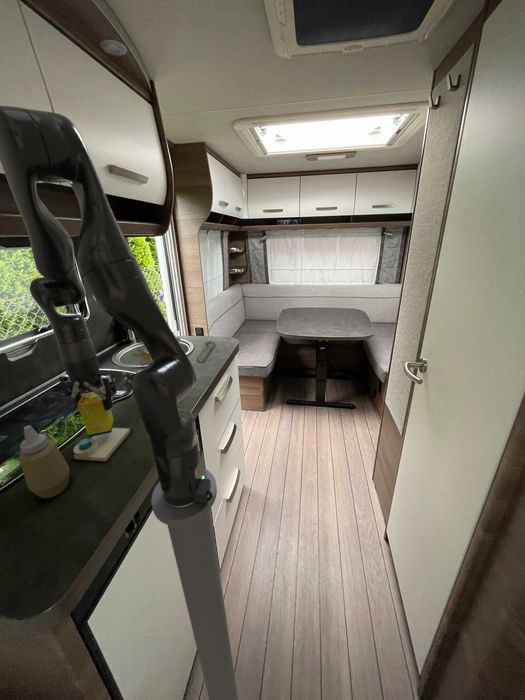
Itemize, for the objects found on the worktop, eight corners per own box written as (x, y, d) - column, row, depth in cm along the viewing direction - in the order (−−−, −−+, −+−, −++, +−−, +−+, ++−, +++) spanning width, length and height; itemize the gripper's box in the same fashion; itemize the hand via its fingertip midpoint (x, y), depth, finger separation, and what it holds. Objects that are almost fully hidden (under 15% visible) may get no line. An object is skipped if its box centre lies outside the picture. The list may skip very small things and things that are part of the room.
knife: (192, 361, 130) (203, 361, 129) (192, 361, 130) (203, 361, 129) (207, 342, 153) (216, 342, 152) (207, 341, 153) (216, 341, 152)
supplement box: (92, 425, 82) (82, 393, 78) (114, 420, 84) (105, 389, 80) (87, 437, 77) (76, 404, 73) (111, 432, 79) (101, 400, 75)
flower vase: (140, 410, 95) (124, 342, 85) (160, 383, 112) (148, 324, 102) (178, 410, 94) (166, 342, 84) (192, 383, 111) (183, 323, 101)
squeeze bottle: (78, 487, 66) (53, 426, 59) (36, 510, 61) (4, 446, 54) (69, 469, 71) (46, 411, 64) (30, 488, 66) (0, 427, 59)
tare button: (84, 443, 77) (83, 438, 76) (93, 443, 76) (91, 438, 76) (78, 450, 74) (76, 445, 74) (86, 450, 74) (85, 445, 73)
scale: (102, 430, 86) (100, 422, 85) (130, 431, 85) (128, 423, 84) (71, 461, 74) (68, 452, 73) (104, 463, 73) (101, 454, 72)
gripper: (41, 360, 69) (62, 415, 75) (94, 362, 67) (111, 417, 74) (64, 349, 76) (81, 400, 82) (113, 350, 74) (126, 401, 81)
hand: (95, 408), depth 78 cm, fingers closed on supplement box, 7 cm apart
